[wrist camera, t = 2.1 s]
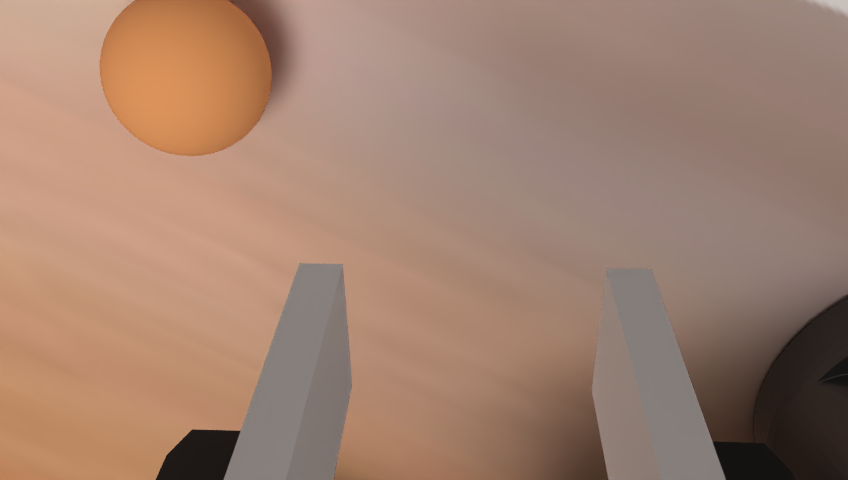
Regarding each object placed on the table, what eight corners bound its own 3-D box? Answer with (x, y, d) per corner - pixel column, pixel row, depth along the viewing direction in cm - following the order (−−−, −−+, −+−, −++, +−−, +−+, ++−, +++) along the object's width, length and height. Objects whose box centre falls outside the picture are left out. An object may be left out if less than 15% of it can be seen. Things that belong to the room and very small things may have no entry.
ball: (278, -30, 28) (237, 11, 23) (293, 119, 30) (260, 184, 26) (122, -30, 28) (50, 12, 23) (151, 118, 31) (92, 182, 26)
